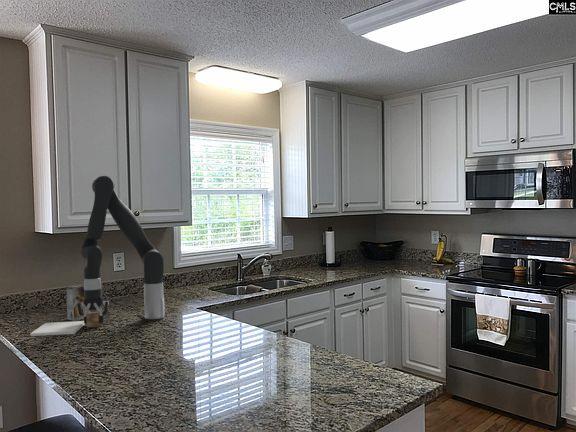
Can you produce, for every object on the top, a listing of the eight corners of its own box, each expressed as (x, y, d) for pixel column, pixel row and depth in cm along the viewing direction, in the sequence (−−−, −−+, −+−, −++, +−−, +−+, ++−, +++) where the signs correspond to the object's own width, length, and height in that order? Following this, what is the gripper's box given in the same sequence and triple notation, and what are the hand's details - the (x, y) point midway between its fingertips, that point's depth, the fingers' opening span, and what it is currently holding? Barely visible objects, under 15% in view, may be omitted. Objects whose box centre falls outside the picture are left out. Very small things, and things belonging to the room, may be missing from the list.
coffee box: (84, 315, 243) (83, 284, 242) (91, 317, 239) (90, 285, 238) (66, 319, 236) (65, 287, 235) (73, 321, 232) (72, 288, 231)
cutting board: (85, 323, 227) (85, 320, 227) (74, 333, 209) (74, 331, 209) (45, 325, 225) (45, 322, 225) (30, 336, 207) (30, 333, 207)
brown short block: (101, 324, 226) (100, 311, 226) (98, 326, 221) (97, 313, 221) (89, 324, 225) (89, 311, 225) (86, 327, 220) (86, 314, 220)
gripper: (110, 285, 227) (111, 321, 228) (78, 287, 225) (80, 322, 226) (107, 288, 220) (108, 325, 220) (74, 290, 218) (75, 326, 218)
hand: (93, 323), depth 223 cm, fingers open, 5 cm apart
